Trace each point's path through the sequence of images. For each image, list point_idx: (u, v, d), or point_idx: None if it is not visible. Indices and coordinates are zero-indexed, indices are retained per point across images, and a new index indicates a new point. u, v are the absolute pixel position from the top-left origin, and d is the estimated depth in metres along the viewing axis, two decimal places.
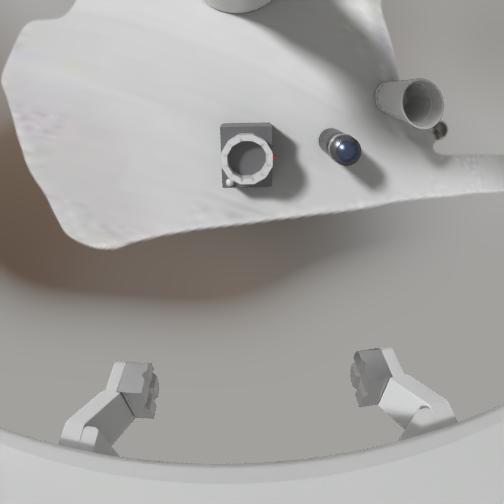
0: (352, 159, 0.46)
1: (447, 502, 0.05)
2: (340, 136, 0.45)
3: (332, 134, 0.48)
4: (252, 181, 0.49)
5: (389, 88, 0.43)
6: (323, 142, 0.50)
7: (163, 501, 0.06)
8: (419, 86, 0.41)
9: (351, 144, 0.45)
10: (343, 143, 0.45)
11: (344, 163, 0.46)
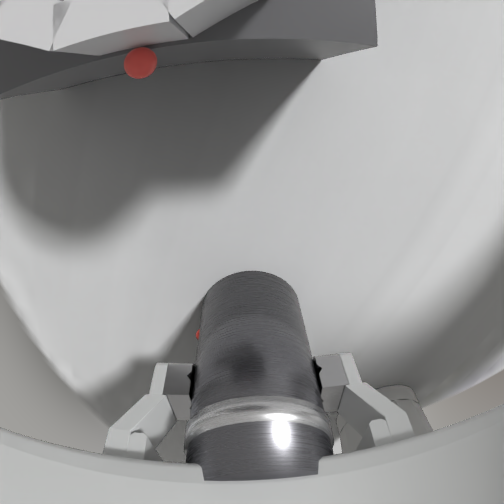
0: None
1: (447, 502, 0.05)
2: (332, 454, 0.08)
3: (310, 371, 0.10)
4: None
5: None
6: (257, 320, 0.11)
7: (163, 501, 0.06)
8: None
9: None
10: None
11: None
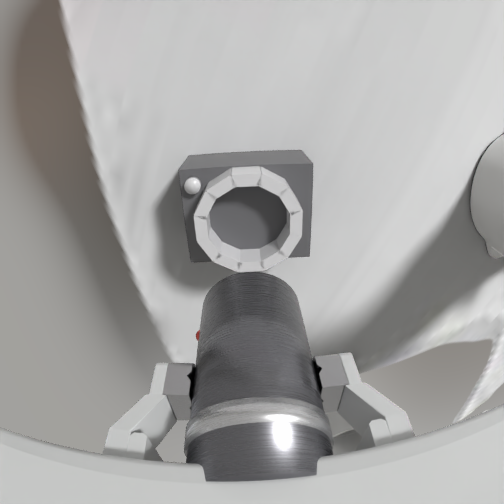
0: None
1: (447, 502, 0.05)
2: None
3: (310, 372, 0.10)
4: (201, 239, 0.24)
5: None
6: (257, 321, 0.11)
7: (163, 501, 0.06)
8: None
9: None
10: None
11: None
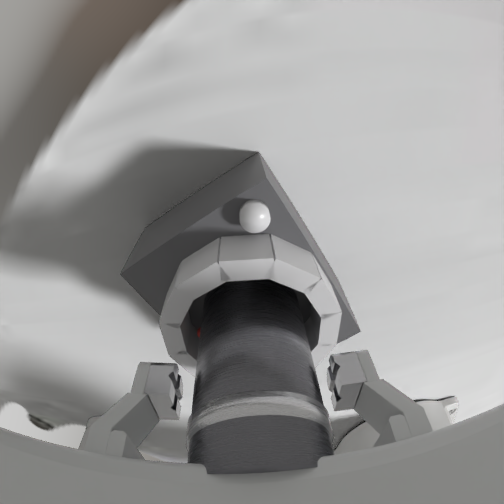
0: None
1: (447, 502, 0.05)
2: (331, 448, 0.08)
3: (310, 367, 0.11)
4: (184, 291, 0.12)
5: None
6: (257, 317, 0.12)
7: (163, 501, 0.06)
8: None
9: None
10: None
11: None
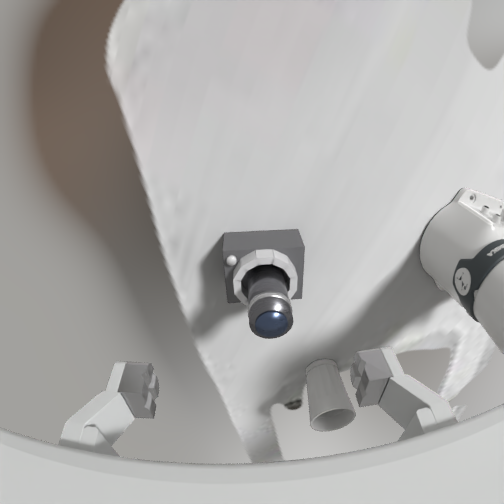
0: (273, 335, 0.34)
1: (447, 501, 0.05)
2: (273, 300, 0.33)
3: (266, 283, 0.36)
4: (237, 292, 0.40)
5: (338, 382, 0.52)
6: (251, 282, 0.38)
7: (163, 501, 0.06)
8: None
9: (281, 319, 0.33)
10: (271, 314, 0.32)
11: (260, 334, 0.34)
